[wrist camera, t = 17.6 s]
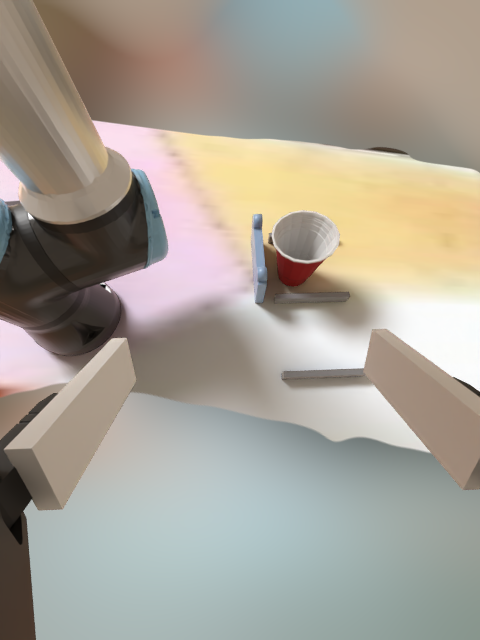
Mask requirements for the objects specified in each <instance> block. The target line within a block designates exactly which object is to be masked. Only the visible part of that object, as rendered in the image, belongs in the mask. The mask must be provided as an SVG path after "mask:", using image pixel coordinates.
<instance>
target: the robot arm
mask: <svg viewBox="0 0 480 640" xmlns="http://www.w3.org/2000/svg"><path fill="white" fill-rule="evenodd" d="M0 160H1V161H2V162H3V163H4V164H5V165H6V166H7V167H8V169H9V170H10V171H11V172H12V173H13V174H14V175H15V176H16V177H17V178H18V179H19V180H20V183H19V190H18V195H19V200H20V204H16V205H13V206H8V205H7V204H6V203H5V202H4V201H3V200H2V199H0V319H1V320H4V321H6V322H9V323H11V324H14V325H17V326H19V327H21V328H23V329H24V330H25V331H26V332H27V333H28V334H29V335H30V336H31V337H32V338H33V339H34V340H35V342H36V343H37V344H38V345H40V346H41V347H43V348H44V349H46V350H48V351H51V352H54V353H57V354H60V355H66V356H73V355H80V354H84V353H87V352H89V351H91V350H93V349H95V348H97V347H99V346H100V345H101V344H103V343H104V342H105V341H106V340H107V339H108V338H109V337H110V336H111V335H112V333H113V332H114V330H115V329H116V327H117V325H118V322H119V319H120V314H121V306H120V301H119V299H118V297H117V295H116V293H115V292H114V291H113V290H112V289H111V288H110V287H109V286H108V285H107V284H106V283H104V282H106V281H109V280H112V279H115V278H118V277H121V276H124V275H126V274H129V273H132V272H135V271H138V270H141V269H146V268H147V267H148V266H150V265H152V264H154V263H156V262H159V261H161V260H163V259H164V258H165V257H166V255H167V253H168V241H167V236H166V232H165V228H164V224H163V221H162V217H161V215H160V213H159V208H158V204H157V201H156V198H155V195H154V192H153V190H152V187H151V185H150V182H149V180H148V178H147V176H146V174H145V173H144V172H143V171H142V170H139V169H137V170H136V169H131V168H130V166H129V164H128V162H127V161H126V160H125V158H124V157H123V156H122V155H121V154H119V153H118V152H116V151H114V150H112V149H110V148H108V147H105V146H104V144H103V142H102V140H101V138H100V136H99V134H98V132H97V130H96V128H95V126H94V124H93V122H92V120H91V118H90V116H89V114H88V112H87V110H86V108H85V106H84V104H83V102H82V100H81V98H80V96H79V94H78V92H77V90H76V88H75V86H74V84H73V82H72V80H71V78H70V76H69V73H68V72H67V69H66V67H65V65H64V63H63V62H62V59H61V57H60V55H59V54H58V51H57V49H56V47H55V45H54V43H53V41H52V39H51V37H50V35H49V33H48V31H47V29H46V27H45V25H44V23H43V21H42V19H41V17H40V15H39V13H38V11H37V9H36V7H35V5H34V3H33V1H32V0H0ZM363 372H364V374H365V375H366V376H367V377H368V378H369V380H370V381H371V382H372V383H373V384H374V385H375V387H376V388H377V389H378V390H379V391H380V393H381V394H382V395H383V396H384V397H385V399H386V400H387V401H388V402H389V403H390V404H391V406H392V407H393V408H394V409H395V410H396V412H397V413H398V414H399V415H400V416H401V417H402V419H403V420H404V421H405V422H406V423H407V425H408V426H409V427H410V428H411V429H412V431H413V432H414V433H415V434H416V435H417V436H418V438H419V439H420V440H421V441H422V442H423V444H424V445H425V446H426V447H427V448H428V450H429V451H430V452H431V453H432V454H433V455H434V457H435V458H436V459H437V460H438V461H439V463H440V464H441V465H442V466H443V467H444V468H445V470H446V471H447V472H448V473H449V474H450V475H451V477H452V478H453V479H454V480H455V482H456V483H457V484H458V485H459V486H460V487H461V489H462V490H474V489H480V392H479V391H478V390H476V389H475V388H474V387H472V386H471V385H469V384H467V383H465V382H463V381H461V380H459V379H457V378H455V377H451V376H450V375H449V374H447V373H446V372H445V371H443V370H442V369H440V368H439V367H438V366H436V365H435V364H434V363H432V362H431V361H429V360H428V359H427V358H425V357H424V356H423V355H421V354H420V353H419V352H417V351H416V350H414V349H413V348H412V347H410V346H409V345H408V344H406V343H405V342H403V341H402V340H401V339H399V338H398V337H397V336H395V335H394V334H393V333H391V332H390V331H388V330H387V329H373V330H372V334H371V338H370V343H369V348H368V352H367V357H366V362H365V366H364V371H363ZM136 381H137V380H136V375H135V371H134V367H133V362H132V358H131V354H130V349H129V345H128V341H127V338H112V339H111V340H110V341H109V342H108V343H107V344H106V345H105V346H104V347H103V348H102V349H101V350H100V351H99V352H98V353H97V354H96V355H95V356H94V357H93V358H92V359H91V360H90V362H89V363H88V364H87V365H86V366H85V367H84V368H83V369H82V370H81V371H80V372H79V373H78V374H77V375H76V376H75V377H74V378H73V379H72V380H71V381H70V382H69V383H68V384H67V385H66V386H65V387H64V388H63V389H62V390H61V391H60V392H59V393H53V394H52V395H50V396H48V397H47V398H46V399H44V400H42V401H40V402H39V403H38V404H37V405H36V406H35V407H34V408H33V409H32V410H31V411H30V412H29V414H28V415H26V416H25V417H24V418H23V419H22V420H20V423H19V424H16V425H15V426H14V428H12V429H11V430H10V431H9V432H8V433H7V434H6V435H5V436H4V437H3V438H2V439H1V440H0V640H36V635H35V622H34V610H33V597H32V583H31V570H30V558H29V545H28V532H27V519H26V516H25V514H24V512H23V511H24V509H25V508H26V506H27V505H28V504H29V502H30V501H31V499H32V500H33V502H34V504H35V505H36V507H37V509H38V510H57V509H63V508H64V506H65V504H66V502H67V501H68V499H69V497H70V495H71V494H72V492H73V490H74V488H75V487H76V485H77V483H78V482H79V480H80V478H81V476H82V475H83V473H84V471H85V470H86V468H87V466H88V464H89V463H90V461H91V459H92V457H93V456H94V454H95V452H96V450H97V449H98V447H99V445H100V443H101V442H102V440H103V438H104V436H105V435H106V433H107V431H108V430H109V428H110V426H111V424H112V423H113V421H114V419H115V417H116V416H117V414H118V412H119V410H120V409H121V407H122V405H123V403H124V402H125V400H126V398H127V397H128V395H129V393H130V391H131V390H132V388H133V386H134V384H135V383H136Z"/></svg>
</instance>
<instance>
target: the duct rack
mask: <svg viewBox="0 0 480 640" xmlns="http://www.w3.org/2000/svg"><path fill="white" fill-rule="evenodd" d="M271 235H272V233H269V237H268V243H273V240H272V236H271ZM251 248H252V263H253V277H254V292H255V303H263V300H264V295H265V291H266V286H267V267H265V259H264V247H263V236H262V214H253V221H252V234H251ZM349 297H350V294H349V292H329V293H296V294H275V297H274V303H307V302H339V301H346V300H347V299H348V298H349ZM363 371H364V368H363V369H336V370H309V371H283V372H282V379H303V378H329V377H356V376H365V374H364V372H363Z"/></svg>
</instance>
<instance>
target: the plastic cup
mask: <svg viewBox="0 0 480 640" xmlns="http://www.w3.org/2000/svg"><path fill="white" fill-rule="evenodd" d="M271 236H272V240H273V244H274V247H275V248H276V253H277V266H278V276H279V279H280V280H281V282H282V283H284V284H285V285H287V286H291V287H294V286H299V285H300V284H302V283H304V282H305V281H306V279H307V278H308V277H310V276H311V274H312V273H313V272H314V271H315V270H316V269H317V267H318V266H319V265H320V264H321V263H322V262H323V261H324V260H325V259H326V258H328V257H329V256H331V255H332V254H333V253H334V251H335V250H336V248H337V247H338V245H339V238H340V234H339V231H338V229H337V227H336V225H335V224H334V223H333V222H332V221H331V220H330V219H329V218H328V217H326V216H324V215H322V214H320V213H317V212H313V211H304V210H302V211H296V212H291V213H289V214H287V215H285V216H283V217H281V218H280V219H279V220H278V221H277V223H276V224H275V225H274V227H273V231H272V235H271Z"/></svg>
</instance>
